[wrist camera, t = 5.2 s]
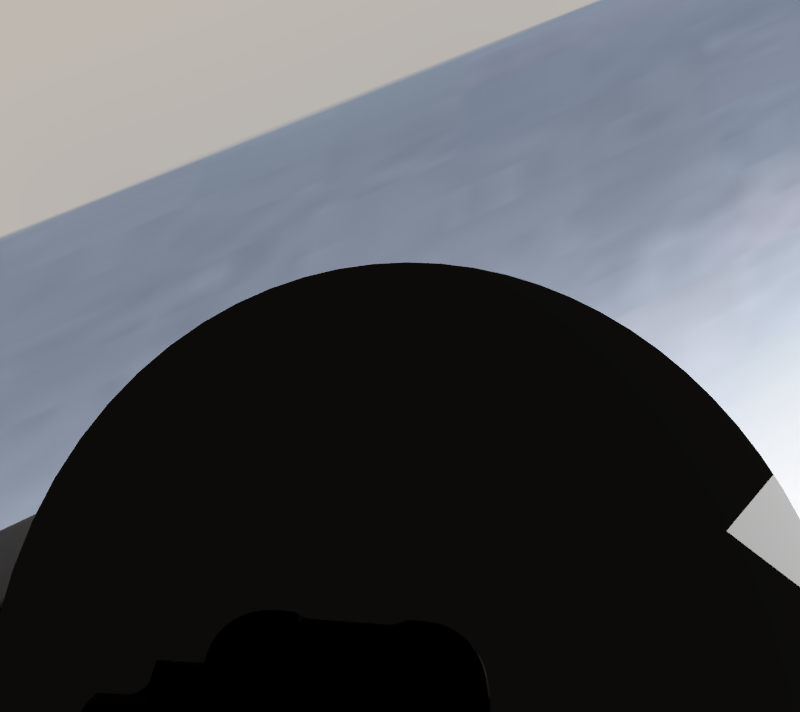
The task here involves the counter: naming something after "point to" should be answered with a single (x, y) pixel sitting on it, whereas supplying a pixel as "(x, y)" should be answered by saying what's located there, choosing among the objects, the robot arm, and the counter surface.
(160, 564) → the supplement container
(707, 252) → the counter surface
